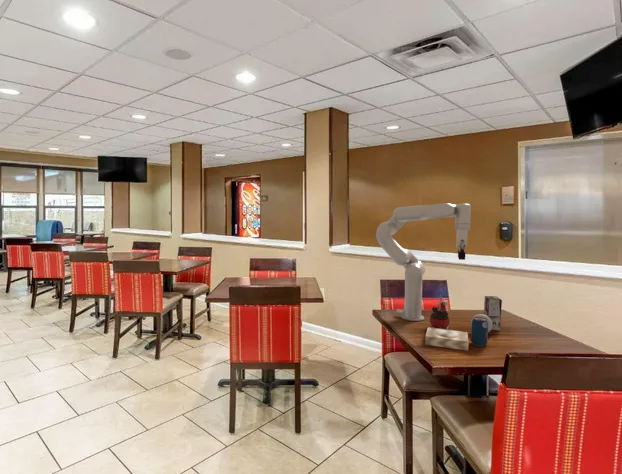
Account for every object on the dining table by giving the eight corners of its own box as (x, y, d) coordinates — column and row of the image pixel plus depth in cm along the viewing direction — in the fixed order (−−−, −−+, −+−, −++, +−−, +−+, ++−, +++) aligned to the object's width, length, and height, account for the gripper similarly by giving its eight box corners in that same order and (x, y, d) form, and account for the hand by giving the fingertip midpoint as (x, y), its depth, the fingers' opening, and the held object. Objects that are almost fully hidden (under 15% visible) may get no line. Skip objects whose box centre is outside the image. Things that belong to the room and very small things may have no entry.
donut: (492, 334, 184) (493, 314, 183) (492, 336, 181) (493, 316, 180) (470, 331, 188) (471, 312, 187) (470, 333, 185) (471, 313, 184)
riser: (425, 344, 167) (425, 335, 167) (427, 335, 180) (427, 326, 180) (468, 350, 161) (468, 341, 160) (467, 340, 174) (467, 331, 174)
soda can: (490, 346, 166) (491, 320, 165) (475, 346, 165) (476, 320, 165) (482, 341, 173) (483, 316, 172) (467, 341, 172) (469, 316, 172)
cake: (425, 326, 194) (426, 293, 193) (439, 325, 197) (440, 292, 196) (438, 333, 184) (440, 297, 183) (453, 331, 187) (455, 296, 186)
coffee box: (500, 330, 190) (502, 300, 189) (487, 329, 191) (489, 299, 190) (495, 325, 199) (497, 296, 198) (482, 324, 200) (484, 295, 199)
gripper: (454, 226, 206) (453, 256, 207) (455, 227, 190) (454, 260, 191) (469, 226, 203) (468, 257, 204) (471, 227, 187) (470, 260, 188)
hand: (461, 258), depth 197 cm, fingers open, 9 cm apart
